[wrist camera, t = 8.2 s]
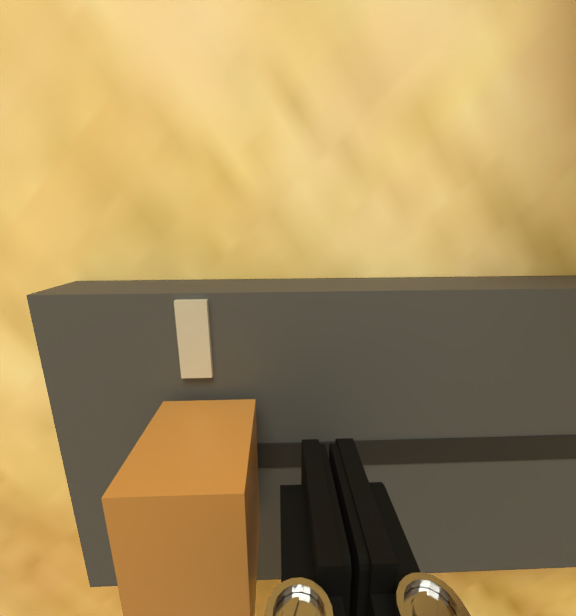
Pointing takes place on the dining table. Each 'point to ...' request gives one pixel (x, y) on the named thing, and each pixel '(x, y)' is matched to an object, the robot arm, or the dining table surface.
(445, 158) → the dining table surface
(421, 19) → the dining table surface
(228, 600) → the fader tab
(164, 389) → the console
